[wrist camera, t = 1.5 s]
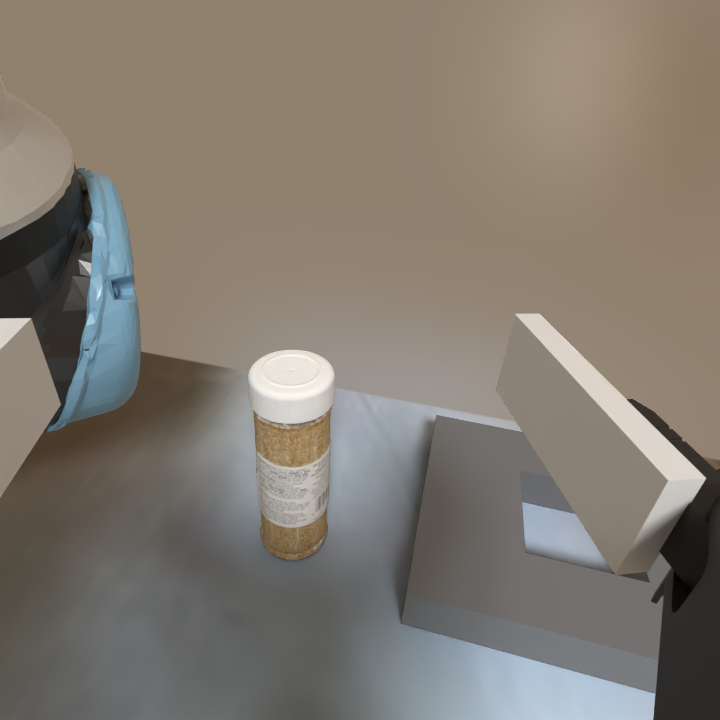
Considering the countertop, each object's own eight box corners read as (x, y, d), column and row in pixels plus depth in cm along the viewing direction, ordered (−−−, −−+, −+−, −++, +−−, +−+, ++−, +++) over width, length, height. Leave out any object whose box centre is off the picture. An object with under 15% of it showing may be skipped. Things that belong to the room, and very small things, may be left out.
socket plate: (401, 623, 27) (408, 584, 25) (431, 442, 41) (438, 407, 38) (787, 730, 24) (832, 695, 22) (683, 495, 37) (705, 460, 35)
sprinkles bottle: (288, 497, 35) (284, 338, 27) (340, 526, 33) (351, 363, 25) (245, 542, 31) (227, 374, 24) (301, 577, 29) (300, 406, 22)
